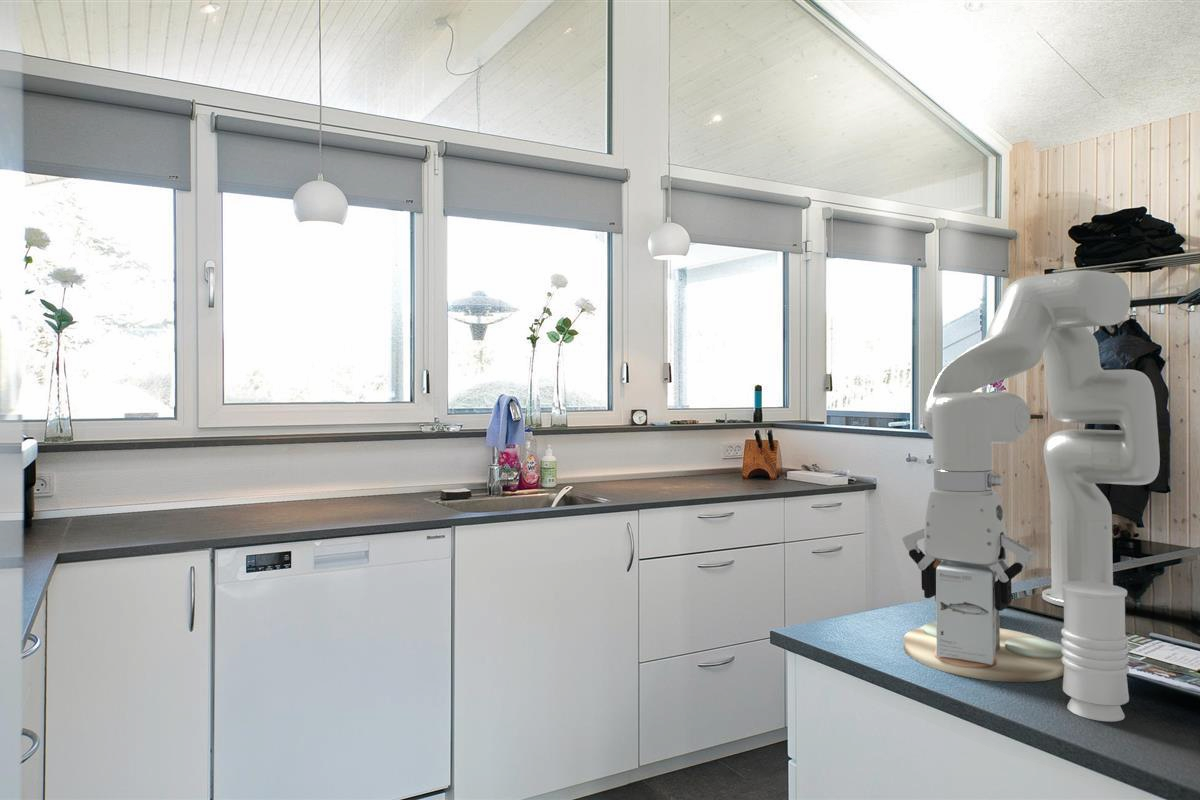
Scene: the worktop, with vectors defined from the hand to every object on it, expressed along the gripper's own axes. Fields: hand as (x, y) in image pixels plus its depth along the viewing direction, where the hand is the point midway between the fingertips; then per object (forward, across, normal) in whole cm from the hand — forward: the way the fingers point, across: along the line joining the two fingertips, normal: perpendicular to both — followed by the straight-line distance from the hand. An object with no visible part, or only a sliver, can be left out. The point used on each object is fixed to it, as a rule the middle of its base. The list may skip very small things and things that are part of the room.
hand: (965, 602), depth 109 cm
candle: (+9, -17, +5) cm, 20 cm away
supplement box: (+8, 0, 0) cm, 8 cm away
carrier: (+9, 0, -7) cm, 11 cm away
